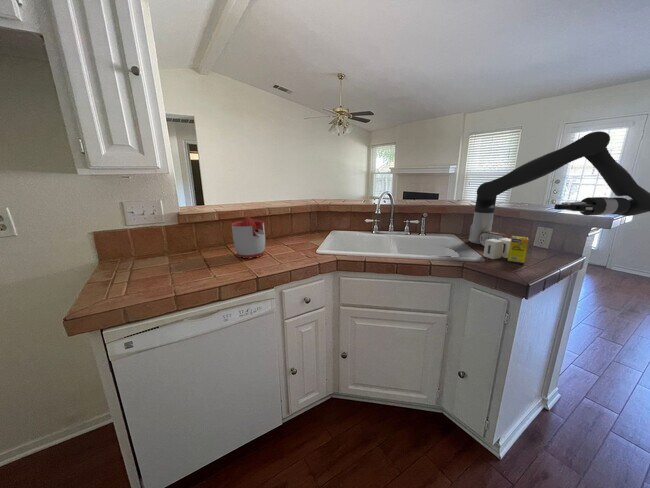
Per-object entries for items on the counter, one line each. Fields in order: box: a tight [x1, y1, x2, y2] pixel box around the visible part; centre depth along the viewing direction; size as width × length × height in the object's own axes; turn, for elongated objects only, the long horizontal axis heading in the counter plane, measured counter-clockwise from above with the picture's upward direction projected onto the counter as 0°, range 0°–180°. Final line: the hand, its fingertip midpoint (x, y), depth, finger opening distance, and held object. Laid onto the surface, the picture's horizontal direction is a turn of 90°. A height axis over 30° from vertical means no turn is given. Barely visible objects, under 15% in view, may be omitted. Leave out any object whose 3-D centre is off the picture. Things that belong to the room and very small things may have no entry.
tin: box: [479, 230, 511, 247], centre depth 133 cm, size 15×3×8 cm, turn 32°
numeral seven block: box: [498, 238, 511, 259], centre depth 120 cm, size 5×5×8 cm
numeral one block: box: [482, 239, 504, 260], centre depth 119 cm, size 5×5×8 cm
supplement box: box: [506, 235, 529, 265], centre depth 112 cm, size 6×6×11 cm
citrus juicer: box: [230, 215, 266, 258], centre depth 125 cm, size 16×17×20 cm
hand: (556, 206), depth 107 cm, fingers closed
